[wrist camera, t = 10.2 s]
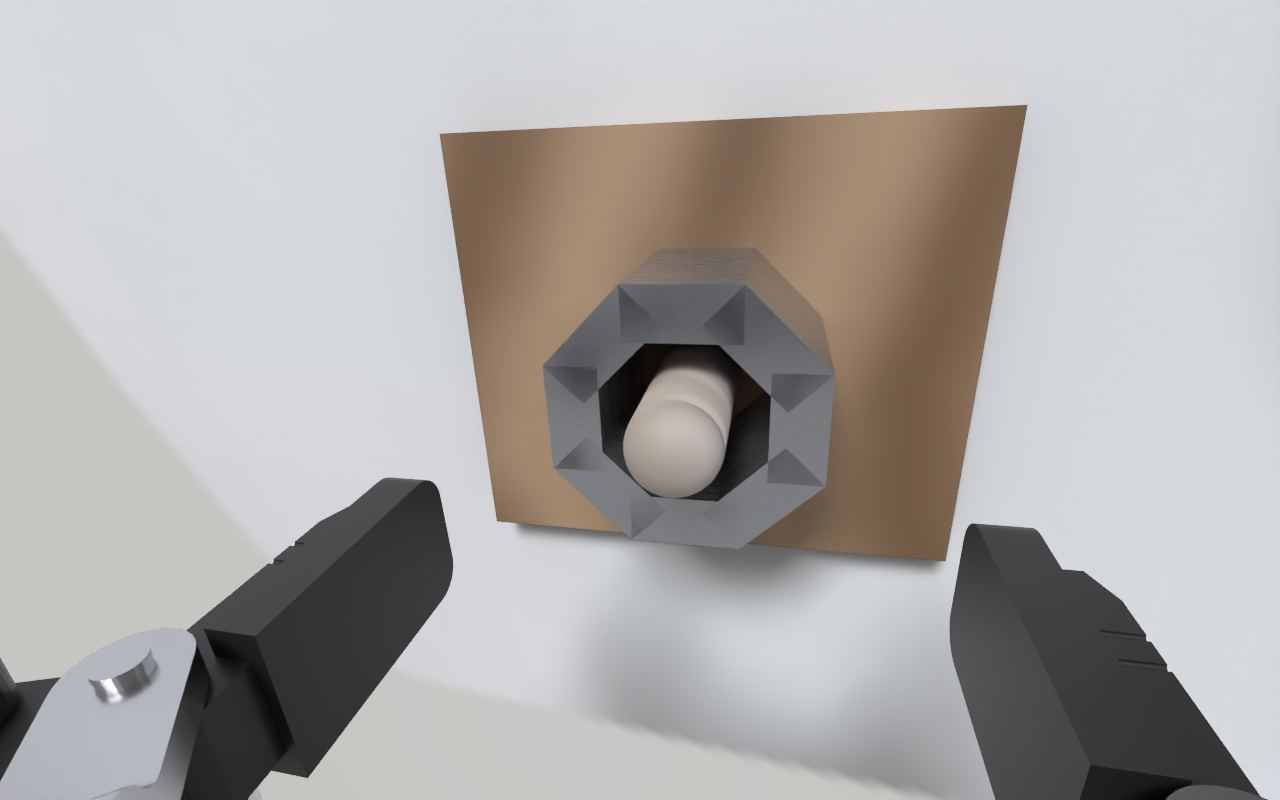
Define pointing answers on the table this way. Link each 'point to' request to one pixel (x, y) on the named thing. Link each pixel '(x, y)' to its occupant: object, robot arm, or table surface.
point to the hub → (758, 435)
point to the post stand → (796, 247)
